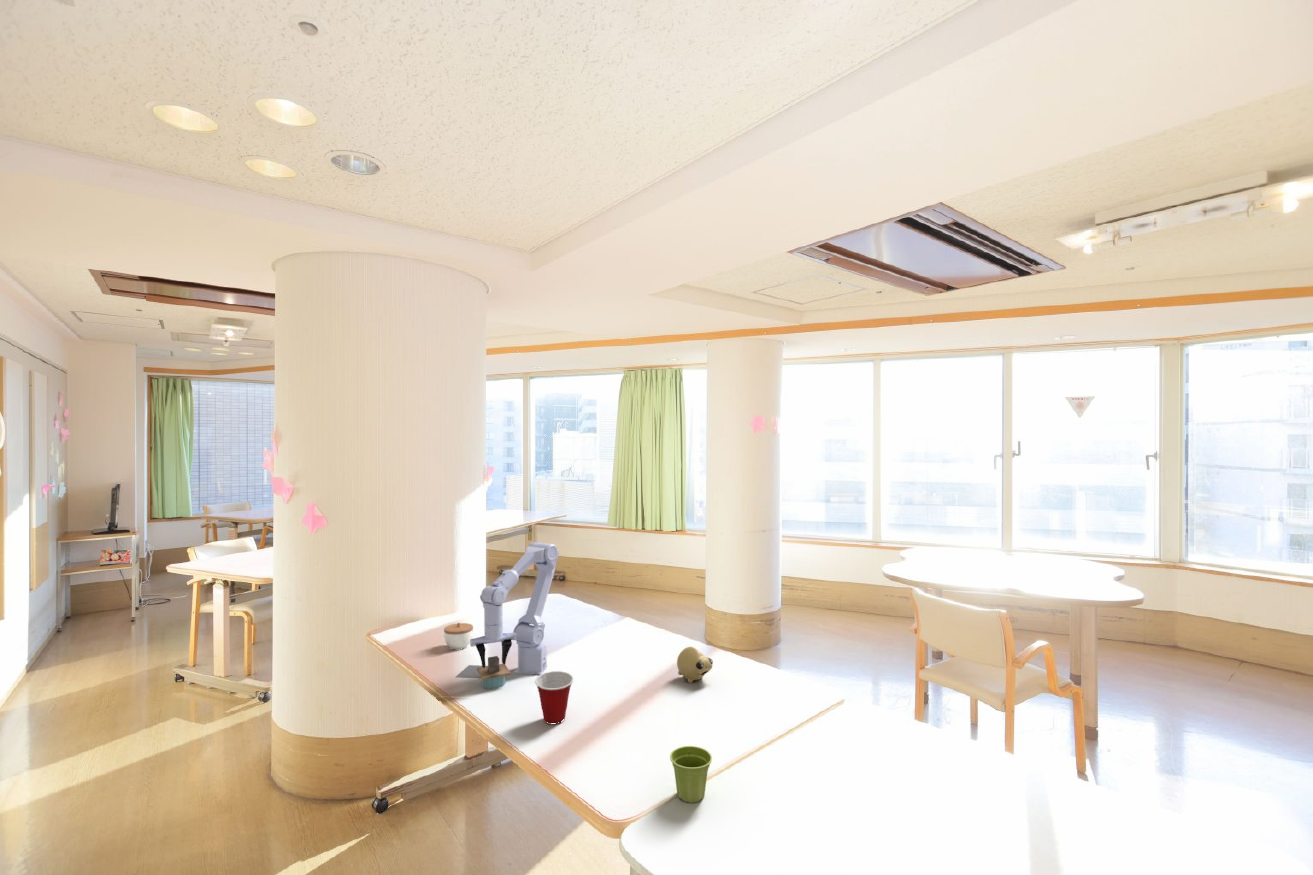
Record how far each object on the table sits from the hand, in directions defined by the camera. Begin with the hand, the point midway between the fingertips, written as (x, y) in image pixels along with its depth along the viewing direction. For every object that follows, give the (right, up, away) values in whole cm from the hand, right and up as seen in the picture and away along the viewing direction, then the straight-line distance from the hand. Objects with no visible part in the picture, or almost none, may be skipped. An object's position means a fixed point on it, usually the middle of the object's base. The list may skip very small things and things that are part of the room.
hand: (493, 664), depth 197 cm
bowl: (0, -7, 0) cm, 7 cm away
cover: (0, -3, 0) cm, 3 cm away
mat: (-9, -7, +11) cm, 16 cm away
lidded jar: (-24, -7, +37) cm, 45 cm away
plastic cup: (+24, -7, -25) cm, 35 cm away
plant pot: (+61, -6, -62) cm, 87 cm away
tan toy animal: (+66, -7, +3) cm, 66 cm away
